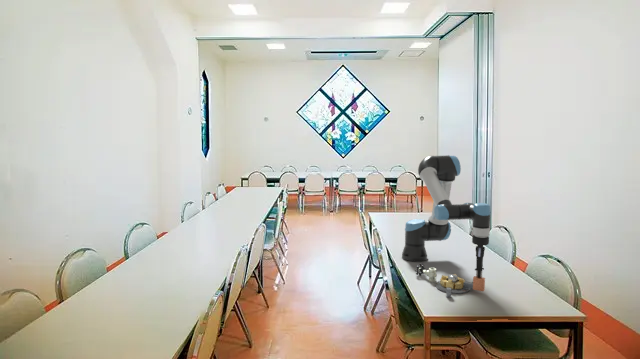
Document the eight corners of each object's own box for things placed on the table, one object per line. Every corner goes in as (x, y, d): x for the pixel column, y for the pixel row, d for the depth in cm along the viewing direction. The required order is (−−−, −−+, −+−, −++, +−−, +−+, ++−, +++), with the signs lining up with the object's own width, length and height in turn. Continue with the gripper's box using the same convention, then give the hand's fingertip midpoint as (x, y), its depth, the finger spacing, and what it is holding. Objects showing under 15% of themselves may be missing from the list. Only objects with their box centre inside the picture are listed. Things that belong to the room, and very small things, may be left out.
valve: (440, 281, 221) (424, 274, 231) (440, 268, 220) (424, 262, 230) (430, 283, 218) (414, 276, 228) (430, 270, 217) (414, 264, 227)
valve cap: (435, 280, 221) (435, 269, 220) (467, 283, 217) (468, 271, 216) (435, 292, 206) (436, 280, 205) (470, 295, 202) (471, 282, 201)
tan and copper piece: (438, 286, 209) (438, 274, 209) (444, 279, 219) (444, 268, 218) (481, 294, 199) (482, 282, 198) (486, 286, 208) (486, 275, 207)
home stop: (446, 295, 201) (447, 287, 201) (451, 296, 201) (451, 288, 200) (446, 297, 200) (446, 288, 199) (450, 297, 199) (450, 289, 198)
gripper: (473, 231, 211) (471, 277, 214) (471, 238, 199) (469, 286, 202) (489, 233, 208) (487, 279, 211) (488, 239, 196) (486, 288, 199)
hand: (478, 282), depth 206 cm, fingers closed
